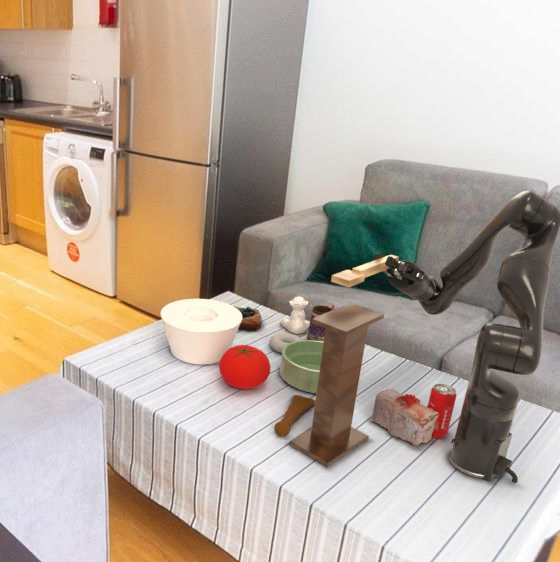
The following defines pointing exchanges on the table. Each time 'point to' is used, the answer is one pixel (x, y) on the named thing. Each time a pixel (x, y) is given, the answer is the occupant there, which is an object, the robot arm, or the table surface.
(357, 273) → the wooden paddle
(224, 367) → the tomato
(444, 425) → the beverage can
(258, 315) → the pastry
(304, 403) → the primitive tool
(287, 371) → the mixing bowl
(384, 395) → the food item
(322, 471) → the table surface
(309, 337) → the mug
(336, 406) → the stand
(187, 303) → the white tapered cylinder
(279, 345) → the donut
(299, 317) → the white creature statuette
